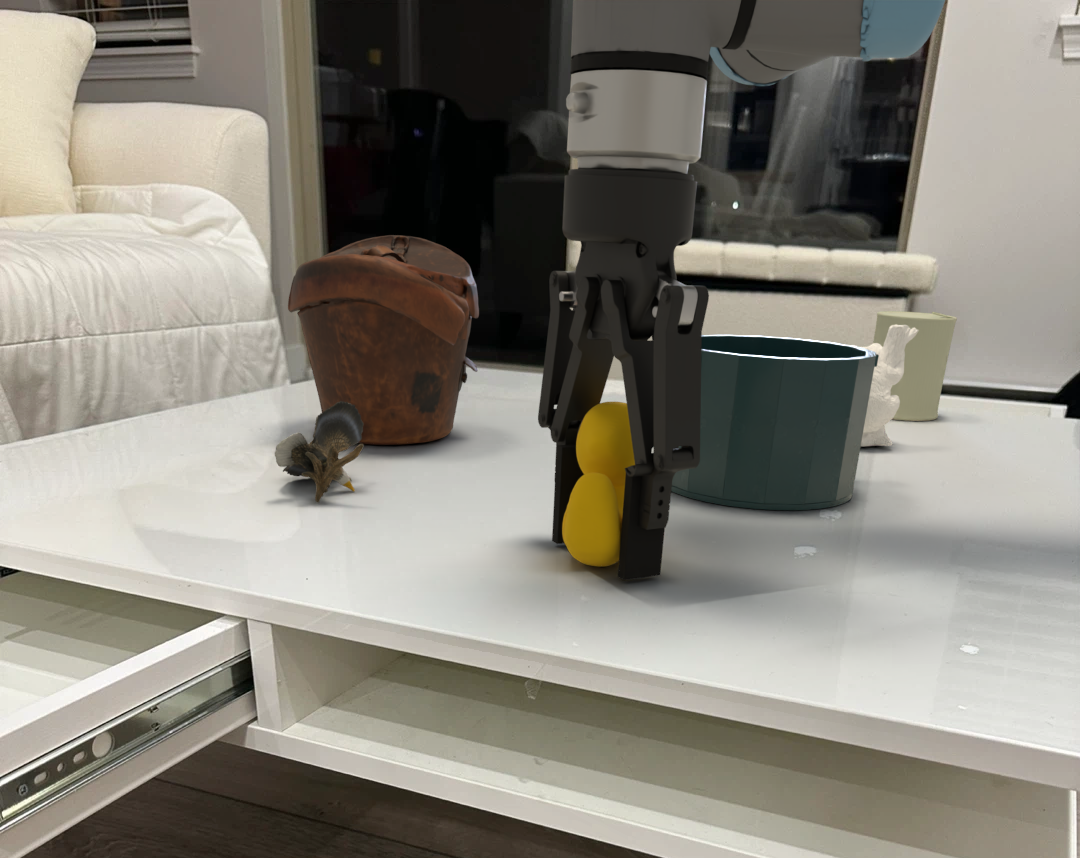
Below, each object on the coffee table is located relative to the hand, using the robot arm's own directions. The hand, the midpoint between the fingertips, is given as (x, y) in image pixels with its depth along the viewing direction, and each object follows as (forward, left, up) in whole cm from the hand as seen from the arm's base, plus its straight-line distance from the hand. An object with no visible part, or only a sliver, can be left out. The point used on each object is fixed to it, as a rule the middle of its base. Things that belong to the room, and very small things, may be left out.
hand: (603, 557), depth 69 cm
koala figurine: (+25, -48, 0) cm, 54 cm away
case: (+44, -2, 0) cm, 44 cm away
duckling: (0, 0, 0) cm, 1 cm away
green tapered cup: (+39, -67, 0) cm, 78 cm away
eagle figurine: (+24, +11, 0) cm, 27 cm away
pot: (+14, -24, 0) cm, 28 cm away
